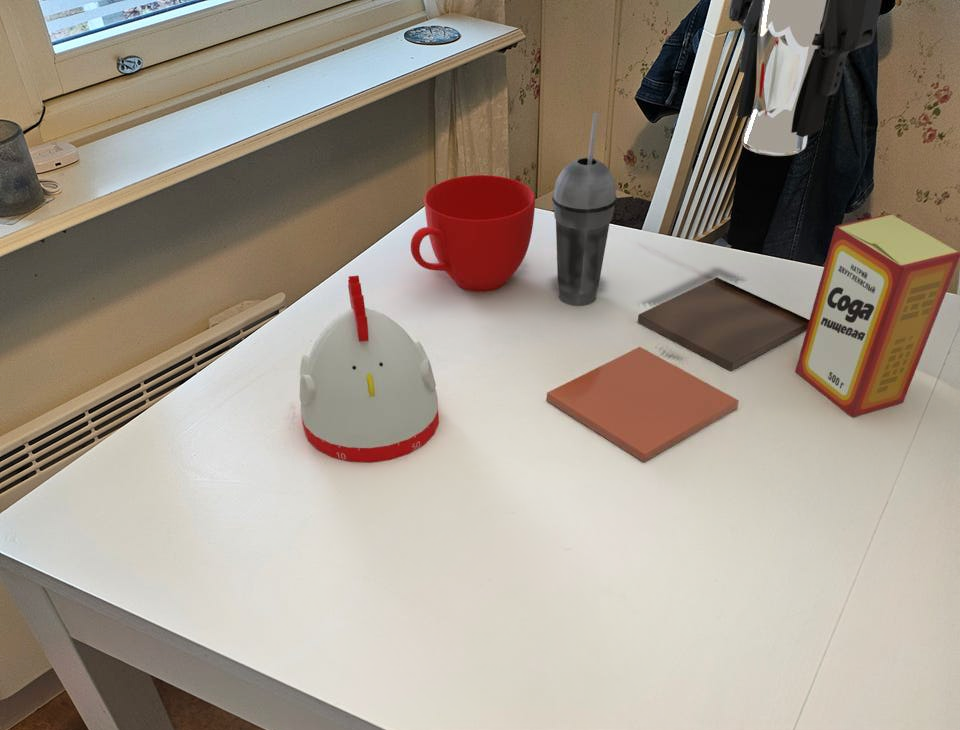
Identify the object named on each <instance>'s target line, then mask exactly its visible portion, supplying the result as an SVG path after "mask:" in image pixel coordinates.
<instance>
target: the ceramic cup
mask: <svg viewBox="0 0 960 730" xmlns="http://www.w3.org/2000/svg"><path fill="white" fill-rule="evenodd" d="M424 210H425V211H424V212H425V219H426V220H425V221H426V226H424V227H421V228H419V229H418V230H416V231H415V232H414V234H413V236H412V238H411V240H410V252H411V255H412V258H413V259H414V261H415V263H417V264H418V265H419V266H420V267H421V268H424V269H426V270H429V271H437V272H441V271H442V272H443V271H444V273H446V274H447V275H448V277H450V279H452V281H453V282H454V283H455V285H456V286H458V287H459V288H461V289H463V290H466V291H469V292H475V293H476V292H479V293H481V292H485V293H486V292H491V291H495V290H497V289H500V288H502V287H504V286H505V285H506V283H507V282H508V280H510V279H511V277H512V276H513V275H515V273H516V271H517V270H518V269H519V268H520V266H521V264H522V263H523V261H524V259H525V257H526V255H527V252H528V250H529V246H530V242H531V238H532V233H533V227H534V220H535V219H534V218H535V210H536V197H535V194H534V192H533V191H532V189H531V188H530V187H529V186H528V185H526V184H525V183H523V182H520V181H519V180H516V179H512V178H509V177H504V176H500V175H489V174H473V175H472V174H471V175H465V176H458V177H453V178H449V179H447V180H446V179H445V180H443V181H441V182H438V183H437V184H435V185H433V186H432V187H431V188H429V190H427V191H426V194H425V196H424ZM427 236H428V237H429V242H430V245H431V248H432V252H433V254H434V256H435V258H436V260H437V262H435V263H434V262H429V261H426V260H425V259H423V257H422V255H421V244H422V241H423V239H425V238H426V237H427Z"/></svg>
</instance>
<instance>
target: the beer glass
mask: <svg viewBox="0 0 960 730" xmlns="http://www.w3.org/2000/svg"><path fill="white" fill-rule="evenodd" d="M829 4H830V0H762V5H761V10H760V16H759V23H758V33H757V48H756V77H755V92H754V99H753V104H752V108H751V112H750V115H749V116H748V119H747V121H746V124H745V127H744V129H743V132H742V136H741V140H740V141H741V145H742V146H743V147H744V148H745V149H747V150H749V151H750V152H754V153H755V154H759V155H765V156H771V157H772V156H773V157H785V156H793V155H796V154H799V153H801V152H803V151H804V150H805V149H807V148H806V147H807V145H808V139H809V135H807V136H805V137H801V136H798V135H796V133H797V129H798V125H799V120H800V116H801V111H802V107H803V102H804V98H805V94H806V89H807V85H808V80H809V76H810V72H811V67H812V63H813V58H814V54H815V53H820V52H819V50H821V49H823V48H824V26H825V22H826V18H827V13H828V8H829Z"/></svg>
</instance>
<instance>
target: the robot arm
mask: <svg viewBox="0 0 960 730" xmlns="http://www.w3.org/2000/svg"><path fill="white" fill-rule="evenodd" d="M882 1H883V0H830V4H829V8H828V13H827V18H826V22H825V26H824V48H823V49H821V50H819V52H820V53H815V54H814V58H813V63H812V67H811V72H810V76H809V80H808V85H807V89H806V94H805V98H804V102H803V107H802V111H801V116H800V120H799V125H798V129H797V133H796V135H798V136H801V137H805V136H807V135H808V136H809V135H811V134H814V133H816V132H819V131H821V130H822V126H823V122H824V118H825V114H826V110H827V105H828V102H829V99H830V98H829V96H832V95H834V94H836V93H837V92H838V90H839V88H840V85H841V80H842V77H843V73H844V70H845V66H846V65H845V64H846V62H847V57H848V55H849V53H850V52H853V51H855V50H858V49H861V48H863V47H867V46H869V45H871V44H872V43H873V42H874V39H875V36H876V35H875V34H876V30H877V26H878V21H879V16H880V12H881V11H880V10H881V7H882ZM761 5H762V0H730V4H729V10H728V19H729V20H730V21H731V22H737V23H738V24H739V25H740V26H741V27H742V28H743V29H742V30H743V32H744V36H743V42H742V48H741V53H740V58H739V67H738V68H739V72H740V73H741V74H742V73H743V79H742V83H741V88H740V95H739V100H738V106H737V111H736V112H737V113H736V117H739V118H743V119H744V118H746V117H749V115H750V112H751V108H752V104H753V99H754V92H755V77H756V48H757V33H758V23H759V16H760V10H761Z"/></svg>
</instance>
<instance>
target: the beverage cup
mask: <svg viewBox="0 0 960 730" xmlns="http://www.w3.org/2000/svg"><path fill="white" fill-rule="evenodd" d="M598 120H599V111H593V115H592V122H591V123H592V124H591V131H590V140H589V146H588V154H587V157H581V158H577V159H574V160H573V161H571V162H570V163H568V164H567V165H566V166H565V167H564V168H563V169H562V170H561V172H560V173H559V175H558V177H557V178H556V181H555V185H554V189H553V193H552V198H551V202H552V203H553V207H552V208H553V217H554V219H555V235H556V236H555V238H556V241H555V242H556V269H557V271H556V272H557V286H558V298H559V300H560V302H562V303H564V304H566V305H570V306H576V307H582V306H587V305H591V304H592V303H595V301H596V299H597V293H598V288H599V285H600V280H601V274H602V269H603V263H604V262H603V261H604V257H605V251H606V246H607V241H608V234H609V229H610V223H611V221H612V219H613V216H614V213H615V207H616V204H617V203H618V201H617V200H618V197H617V187H616V182H615V178H614V176H613V174H612V172H611V171H610V169H609V168H608V166H607V165H605V163H603V162H602V161H600V160H598V159H596V158H593V157H594V149H595V142H596V134H597V126H598Z"/></svg>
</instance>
